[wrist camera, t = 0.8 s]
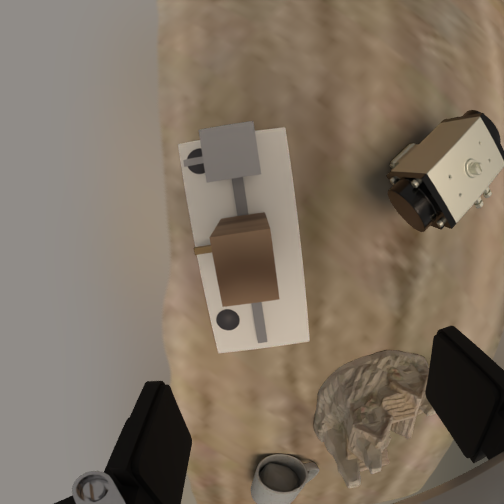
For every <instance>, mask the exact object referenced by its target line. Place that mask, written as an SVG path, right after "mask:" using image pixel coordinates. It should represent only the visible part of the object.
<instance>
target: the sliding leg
mask: <svg viewBox="0 0 504 504" xmlns="http://www.w3.org/2000/svg"><path fill="white" fill-rule="evenodd" d="M209 238H210V244H211V245H205V246H199V247H195V248H194V252H195V255H199V254H206V253H212V255H213V260H214V265H215V271H216V276H217V281H218V286H219V291H220V296H221V301H222V306H223V307H227V306H234V305H242V304H250V303H257V302H265V301H272V300H279V291H278V283H277V275H276V267H275V260H274V252H273V244H272V237H271V230H270V226H269V223H268V220H267V217H266V214H265V212H263V213H256V214H249V215H242V216H235V217H229V218H222V219H220V221H219V223H218V224H217V226H216V227H215V229H214V231H213V232H212V234H211V236H210V237H209Z"/></svg>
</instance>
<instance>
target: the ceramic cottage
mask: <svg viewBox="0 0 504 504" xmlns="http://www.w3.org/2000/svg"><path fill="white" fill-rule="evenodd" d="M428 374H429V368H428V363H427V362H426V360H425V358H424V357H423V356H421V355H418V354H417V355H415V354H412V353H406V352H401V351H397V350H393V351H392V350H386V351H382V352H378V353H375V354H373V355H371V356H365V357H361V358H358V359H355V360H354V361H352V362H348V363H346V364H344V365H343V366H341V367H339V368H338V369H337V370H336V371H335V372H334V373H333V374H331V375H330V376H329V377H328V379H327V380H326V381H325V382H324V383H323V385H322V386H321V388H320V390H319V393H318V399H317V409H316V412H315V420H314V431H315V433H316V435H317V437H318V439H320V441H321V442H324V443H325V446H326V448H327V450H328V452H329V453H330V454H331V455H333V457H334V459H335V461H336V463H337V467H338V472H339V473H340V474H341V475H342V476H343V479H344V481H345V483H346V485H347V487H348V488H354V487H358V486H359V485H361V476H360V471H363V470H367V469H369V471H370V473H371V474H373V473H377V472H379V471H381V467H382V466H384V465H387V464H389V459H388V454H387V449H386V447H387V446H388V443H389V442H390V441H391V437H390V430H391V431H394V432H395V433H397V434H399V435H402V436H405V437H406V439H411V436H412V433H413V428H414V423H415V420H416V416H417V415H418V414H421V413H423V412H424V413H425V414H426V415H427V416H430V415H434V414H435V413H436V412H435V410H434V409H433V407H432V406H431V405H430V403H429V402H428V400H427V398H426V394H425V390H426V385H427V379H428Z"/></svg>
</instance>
